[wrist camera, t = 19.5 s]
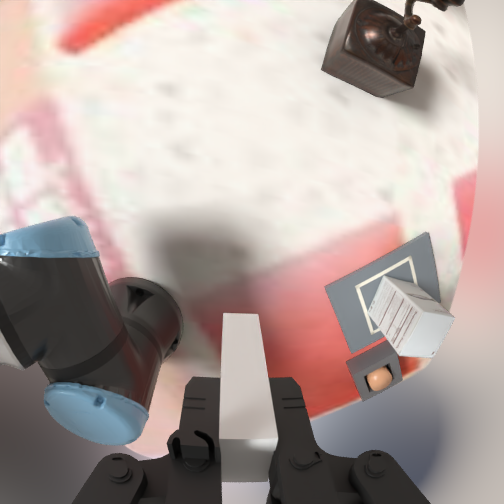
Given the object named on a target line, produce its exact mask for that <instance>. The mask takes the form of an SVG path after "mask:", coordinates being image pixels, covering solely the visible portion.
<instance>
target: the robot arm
mask: <svg viewBox="0 0 504 504" xmlns="http://www.w3.org/2000/svg"><path fill="white" fill-rule="evenodd" d="M99 256H100V254H99V252H98V251H97V250H96V248H95V245H94V243H93V240H92V238H91V235H90V232H89V229H88V227H87V225H86V223H85V222H84V221H83V220H82V219H81V218H79V217H76V216H67V217H63V218H59V219H55V220H51V221H47V222H43V223H39V224H36V225H32V226H28V227H24V228H21V229H17V230H14V231H10V232H7V233H3V234H0V366H1V365H3V364H4V365H9V366H12V367H15V368H18V369H21V370H24V369H26V368H28V367H29V366H31V365H32V364H34V363H36V362H38V364H39V365H40V367H41V368H42V370H43V372H44V373H45V375H46V377H47V378H48V380H49V382H50V384H49V385H47V387H46V388H45V394H44V404H45V407H46V409H47V410H48V412H49V413H50V414H51V416H52V417H53V418H54V419H55V420H56V421H57V422H58V423H59V424H61V425H62V426H63V427H65V428H66V429H68V430H69V431H71V432H72V433H74V434H76V435H78V436H80V437H82V438H85V439H87V440H90V441H93V442H96V443H100V444H105V445H126V444H129V443H132V442H134V441H135V440H137V438H139V436H140V435H141V433H142V431H143V428H144V426H145V423H146V421H147V420H148V418H149V414H148V412H149V408H150V404H151V400H152V397H153V393H154V389H155V385H156V382H157V378H158V375H159V371H160V367H161V365H162V364H163V363H164V362H165V361H166V360H167V359H168V358H169V357H170V356H171V355H172V354H173V352H174V351H175V350H176V348H177V347H178V345H179V342H180V339H181V335H182V330H183V320H182V315H181V312H180V310H179V308H178V306H177V304H176V302H175V301H174V300H173V298H172V297H171V296H170V295H169V294H168V293H167V292H166V291H165V290H164V289H162V288H161V287H159V286H158V285H156V284H154V283H152V282H150V281H147V280H144V279H141V278H134V277H127V278H121V279H117V280H115V281H113V282H111V283H109V284H108V282H107V279H106V276H105V273H104V270H103V267H102V265H101V262H100V258H99ZM167 446H168V450H169V454H167V455H165V456H163V457H161V458H157V459H151V460H143V461H138V460H137V459H135V458H133V457H132V456H130V455H127V454H122V453H115V454H110V455H108V456H106V457H104V458H103V459H102V460H101V461H100V462H99V463H98V464H97V466H96V467H95V469H94V471H93V472H92V474H91V475H90V477H89V478H88V480H87V481H86V483H85V484H84V486H83V487H82V489H81V490H80V492H79V493H78V495H77V496H76V498H75V500H74V501H73V503H72V504H222V492H221V491H222V486H221V485H222V484H221V483H222V482H266V481H268V478H269V482H270V490H269V494H268V497H267V502H266V504H430V502H429V501H428V500H427V499H426V497H425V496H424V495H423V494H422V493H421V492H420V490H419V489H418V488H417V486H416V485H415V484H414V483H413V482H412V481H411V479H410V478H409V477H408V475H407V474H406V473H405V472H404V471H403V469H402V468H401V467H400V466H399V464H398V463H397V462H396V461H395V460H394V458H393V457H391V456H390V455H389V454H388V453H385V452H383V451H380V450H370V451H366V452H364V453H362V454H361V455H359V456H358V458H347V457H338V456H334V455H330V454H328V453H326V452H325V451H323V450H322V449H321V448H320V447H319V446H318V445H317V443H316V441H315V439H314V435H313V431H312V428H311V424H310V420H309V417H308V413H307V409H306V408H305V402H304V399H303V395H302V391H301V388H300V386H299V385H298V384H297V382H296V381H295V380H294V379H293V378H292V377H284V378H268V372H267V366H266V360H265V354H264V347H263V341H262V335H261V329H260V322H259V316H258V314H241V313H223V330H222V354H221V378H209V377H192V379H191V380H190V381H189V382H188V384H187V385H186V387H185V393H184V399H183V406H182V412H181V419H180V425H179V430H176V431H175V432H174V433H173V434H172V435H170V437H169V439H168V441H167Z"/></svg>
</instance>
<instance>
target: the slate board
mask: <svg viewBox="0 0 504 504" xmlns="http://www.w3.org/2000/svg"><path fill="white" fill-rule="evenodd" d="M384 275H385V276H388V277H392V278H395V279H399V280H402V281H406V282H411V283H415V284H416V285H417V286H419V287H420V288H421V289H422V290H424V291H425V292H426V293H427V294H428V295H430V296H431V297H432V298H433V299H434V300H435V301H437V302H438V303H440V302H441V300H440V293H439V286H438V279H437V273H436V268H435V262H434V257H433V252H432V247H431V242H430V237H429V233H427V232H425V233H423V234H421V235H420V236H418V237H416V238H414V239H413V240H411V241H409V242H407V243H406V244H404V245H402V246H400V247H399V248H397V249H395V250H393V251H391V252H390V253H388V254H386V255H384V256H382V257H380V258H379V259H377V260H375V261H373V262H371V263H369V264H367V265H366V266H364V267H362V268H360V269H358V270H356V271H354V272H352V273H350V274H348V275H346V276H344V277H343V278H341V279H339V280H337V281H335V282H333V283H331V284H329V285H327V286H325V290H326V292H327V295H328V297H329V299H330V302H331V304H332V307H333V309H334V311H335V314H336V316H337V319H338V321H339V324H340V326H341V329H342V331H343V334H344V336H345V339H346V341H347V344H348V347H349V349H350V352H351V353H354V352H356V351H358V350H360V349H362V348H364V347H366V346H368V345H370V344H371V343H373V342H375V341H377V340H379V339H381V338H382V337H384V334H383V333H382V332H381V330H380V329H379V328H378V326H377V325H376V324H375V322H374V321H373V320H372V319H371V317H370V316H369V315H368V313H367V312H368V310H369V307H370V305H371V303H372V301H373V298H374V296H375V294H376V292H377V289H378V287H379V285H380V282H381V280H382V278H383V276H384Z"/></svg>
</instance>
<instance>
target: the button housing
mask: <svg viewBox="0 0 504 504" xmlns="http://www.w3.org/2000/svg"><path fill="white" fill-rule="evenodd" d="M346 364H347V366H348V368H349V371H350V373H351V376H352V378H353V381H354V383H355V386H356V388H357V391H358V393H359V395H360V397H361V399H362V401H365V400H367V399H369V398H371V397H373V396H375V395H377V394H379V393H381V392H383V391H384V390H386V389H388V388H390V387H392V386H394V385H395V384H397V383H399V382H401V381H402V380H403V379H402V374H401V369H400V364H399V359H398V355H397V352H396V351H395V349H394V348H393V347H392V345H391V344H390V342H389V341H388V340H386V341H384V342H383V343H381V344H379V345H377V346H375V347H373V348H371V349H370V350H368V351H366V352H364V353H362V354H360V355H358V356H356V357H354V358H352V359H350V360H348V361H346ZM383 366H386V367H387V369H388V371H389V372H390V374H391V375H392V381H391V383H390V384H389V385H388V386H387V387H386V388H384V389H382V390H379V391H374V390H372V388H371V386H370V385H369V383H368V381H367V379H366V377H365V376H366V375H368V374H370V373H372V372H374V371H375V370H377V369H379V368H381V367H383Z"/></svg>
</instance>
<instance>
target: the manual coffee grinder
mask: <svg viewBox="0 0 504 504" xmlns="http://www.w3.org/2000/svg"><path fill="white" fill-rule="evenodd" d="M416 1H420V2H425V3H430V4H432V5H433V6H434V7H437V8H438V9H439V10H441V11H446V10H447V7H448V6H457V7H458V6H461V5H462V4H463V3H464V1H465V0H406V3H405V14H404V17H403V16H401V15H400V14H398V13H396V12H395V11H393V10H391V9H389V8H387V7H385V6H384V5H382V4H380V3H378V2H376V1H374V0H353V2H352V3H351V4H350V5H349V6H348V8H347V9H346V10H345V11H344V13H343V14H342V15H341V17H340V18H339V19H338V21H337V22H336V24H335V26H334V29H333V32H332V35H331V38H330V41H329V44H328V47H327V50H326V54H325V58H324V61H323V65H322V68H321V70H322V71H324V72H326V73H328V74H330V75H332V76H334V77H336V78H339V79H341V80H343V81H345V82H347V83H349V84H352V85H354V86H356V87H358V88H360V89H362V90H364V91H366V92H368V93H370V94H372V95H374V96H376V97H381V98H383V97H385V96H388V95H391V94H395V93H398V92H402V91H405V90H408V89H412V88H413V87H414V84H415V80H416V76H417V73H418V68H419V64H420V59H421V56H422V49H423V44H424V38H425V31H424V30H423V29H421V28H420V27H418V26H417V25H420V24H421V18H420V17H419V16H418V15H413V6H414V3H415V2H416Z"/></svg>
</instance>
